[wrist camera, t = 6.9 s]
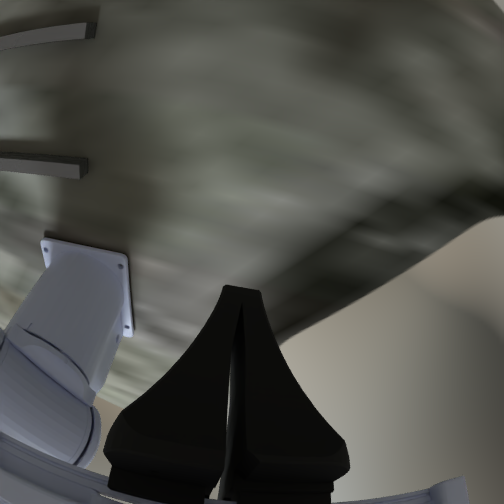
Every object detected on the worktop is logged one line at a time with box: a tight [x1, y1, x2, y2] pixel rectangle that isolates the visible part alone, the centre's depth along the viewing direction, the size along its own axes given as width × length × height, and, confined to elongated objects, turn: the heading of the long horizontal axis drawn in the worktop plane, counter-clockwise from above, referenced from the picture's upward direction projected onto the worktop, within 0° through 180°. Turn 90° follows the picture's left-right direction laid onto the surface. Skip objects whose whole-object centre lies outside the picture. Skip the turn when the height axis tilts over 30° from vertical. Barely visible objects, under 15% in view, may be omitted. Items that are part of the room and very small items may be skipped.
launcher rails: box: [0, 23, 96, 180], centre depth 15 cm, size 10×13×1 cm
